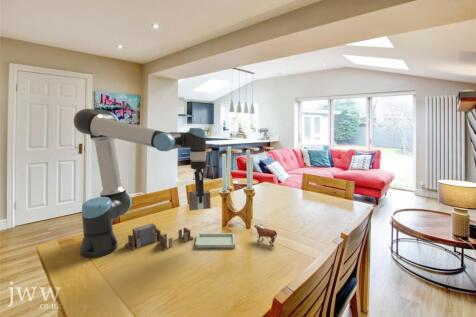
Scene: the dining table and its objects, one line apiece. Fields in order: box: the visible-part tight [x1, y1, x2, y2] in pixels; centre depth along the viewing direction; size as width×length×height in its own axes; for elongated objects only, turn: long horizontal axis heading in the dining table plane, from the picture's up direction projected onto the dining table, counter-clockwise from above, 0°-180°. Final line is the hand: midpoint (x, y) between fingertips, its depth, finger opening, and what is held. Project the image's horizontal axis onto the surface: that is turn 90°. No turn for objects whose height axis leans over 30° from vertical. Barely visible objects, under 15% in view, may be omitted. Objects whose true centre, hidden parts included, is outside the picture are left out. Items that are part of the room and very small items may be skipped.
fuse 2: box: [187, 190, 212, 211], centre depth 121 cm, size 10×4×8 cm, turn 106°
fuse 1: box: [132, 222, 157, 248], centre depth 122 cm, size 10×4×8 cm, turn 133°
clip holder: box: [156, 227, 194, 251], centre depth 123 cm, size 16×6×5 cm, turn 133°
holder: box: [124, 227, 161, 251], centre depth 122 cm, size 16×6×5 cm, turn 133°
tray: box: [194, 232, 236, 250], centre depth 124 cm, size 19×13×2 cm
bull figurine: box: [253, 222, 278, 246], centre depth 125 cm, size 4×13×8 cm, turn 51°
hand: (200, 207), depth 122 cm, fingers closed on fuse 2, 4 cm apart
